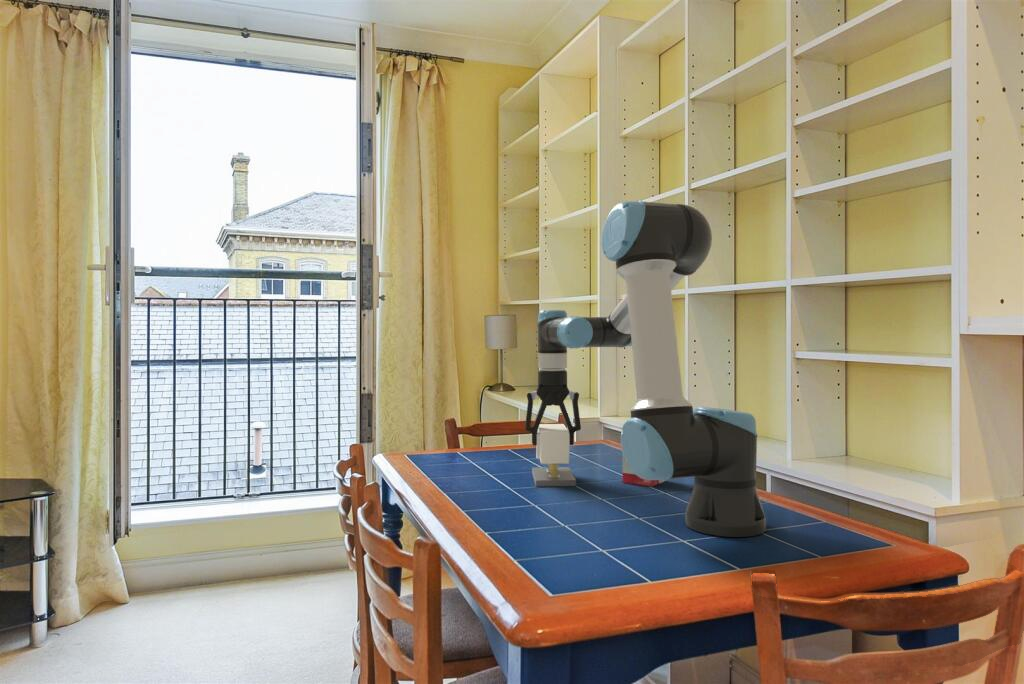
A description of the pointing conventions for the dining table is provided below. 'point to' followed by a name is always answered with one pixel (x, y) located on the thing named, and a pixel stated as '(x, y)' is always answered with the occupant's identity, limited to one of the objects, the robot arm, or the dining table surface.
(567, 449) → the block
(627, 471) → the ink box
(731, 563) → the dining table surface
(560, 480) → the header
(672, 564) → the dining table surface
